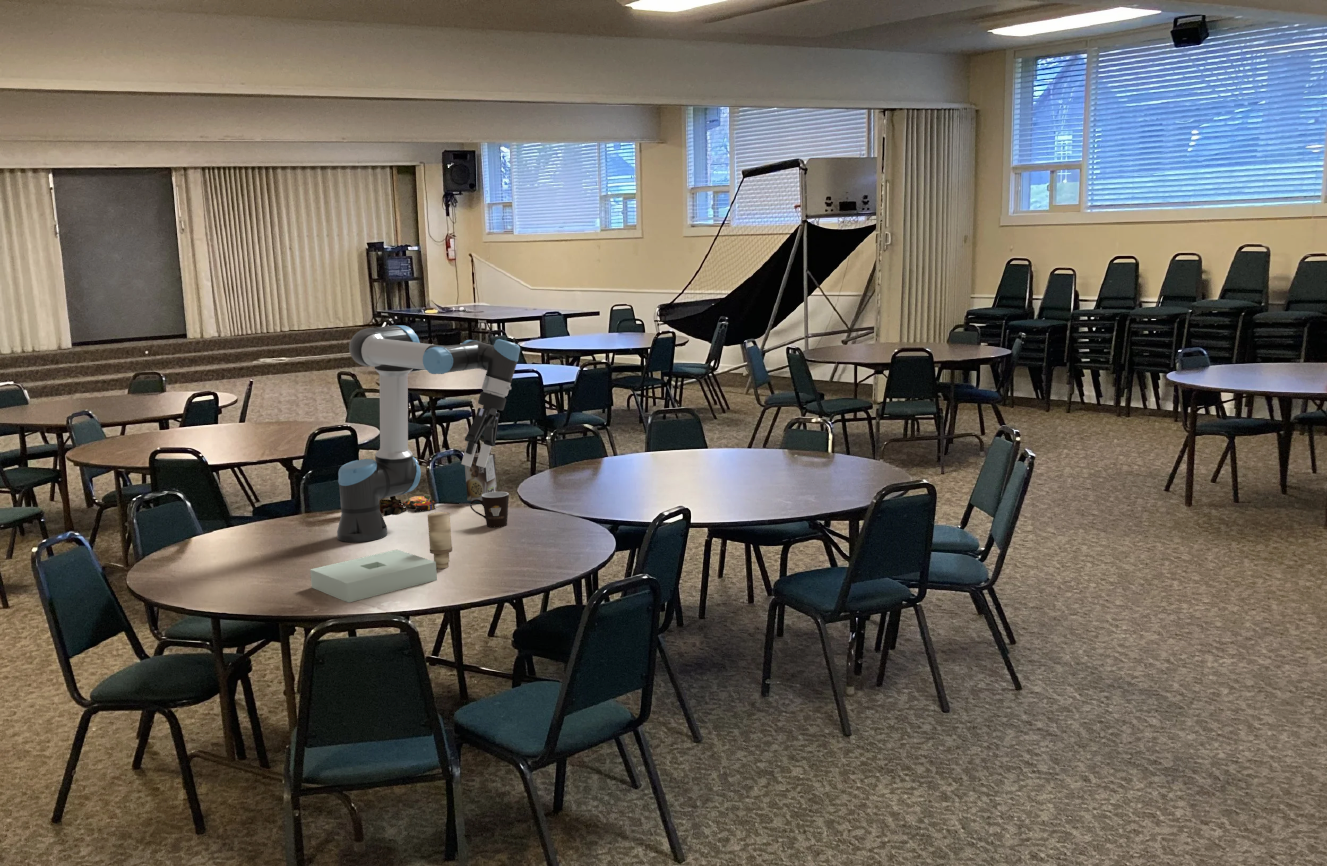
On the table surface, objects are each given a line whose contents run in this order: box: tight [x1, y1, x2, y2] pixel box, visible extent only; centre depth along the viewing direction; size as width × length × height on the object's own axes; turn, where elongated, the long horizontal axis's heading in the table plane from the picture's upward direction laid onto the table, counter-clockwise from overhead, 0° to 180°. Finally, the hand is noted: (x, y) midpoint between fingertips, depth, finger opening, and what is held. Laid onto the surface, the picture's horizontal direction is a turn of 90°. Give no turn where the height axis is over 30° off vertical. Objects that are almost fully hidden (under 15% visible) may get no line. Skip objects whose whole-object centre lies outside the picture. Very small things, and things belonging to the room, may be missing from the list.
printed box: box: [464, 452, 498, 502], centre depth 407 cm, size 9×6×16 cm
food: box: [379, 495, 437, 517], centre depth 398 cm, size 22×19×4 cm
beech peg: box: [427, 511, 453, 570], centre depth 321 cm, size 6×6×15 cm
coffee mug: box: [469, 491, 510, 529], centre depth 369 cm, size 12×9×10 cm
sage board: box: [309, 549, 438, 603], centre depth 308 cm, size 20×26×5 cm
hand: (473, 466), depth 329 cm, fingers open, 13 cm apart
